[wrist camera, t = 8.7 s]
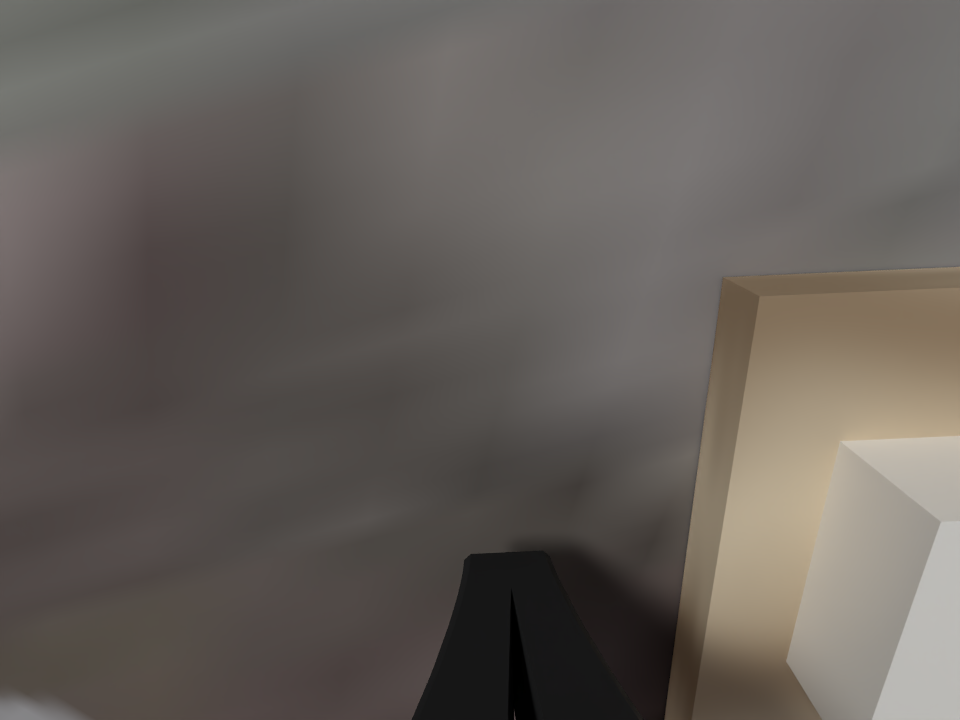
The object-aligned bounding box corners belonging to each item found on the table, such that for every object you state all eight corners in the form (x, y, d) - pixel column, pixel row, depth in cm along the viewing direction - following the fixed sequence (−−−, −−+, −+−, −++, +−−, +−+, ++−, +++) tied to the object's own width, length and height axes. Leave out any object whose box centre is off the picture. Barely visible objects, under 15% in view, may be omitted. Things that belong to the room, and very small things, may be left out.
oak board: (949, 869, 16) (986, 925, 15) (642, 884, 16) (655, 941, 14) (1262, 253, 9) (1376, 269, 8) (723, 277, 9) (759, 296, 8)
